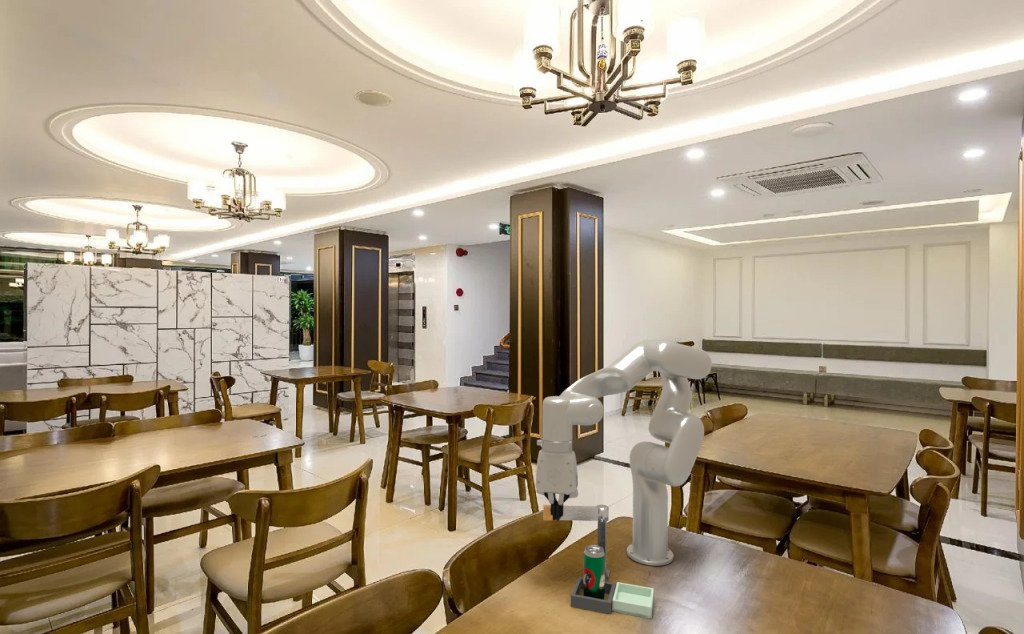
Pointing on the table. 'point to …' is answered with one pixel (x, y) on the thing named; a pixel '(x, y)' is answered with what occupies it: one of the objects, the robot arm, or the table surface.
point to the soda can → (594, 572)
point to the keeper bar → (580, 513)
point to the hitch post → (603, 542)
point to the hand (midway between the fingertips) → (557, 518)
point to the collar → (591, 602)
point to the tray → (633, 600)
